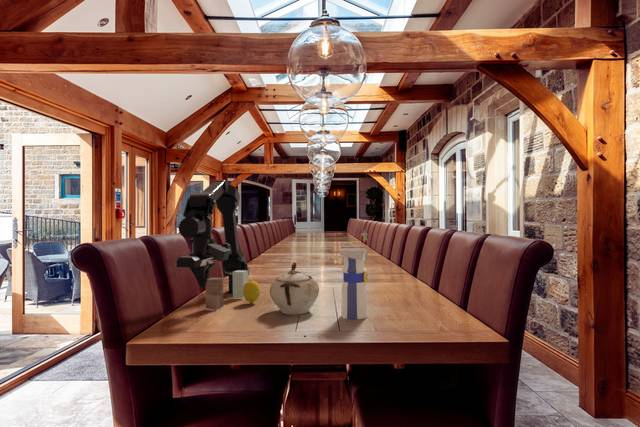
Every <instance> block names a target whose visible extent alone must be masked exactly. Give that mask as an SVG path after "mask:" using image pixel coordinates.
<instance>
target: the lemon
mask: <svg viewBox="0 0 640 427" xmlns="http://www.w3.org/2000/svg"><path fill="white" fill-rule="evenodd" d="M260 294H261V290H260V285H259V283H258V282H257V281H255V280H253V279H249V280H248V282H246V283H245V285H244V287H243V296H244V298H245V299H244V300H245V301H247V302H249V303H250V304H254V303H255V302H256V301H257V300H258V299H259V297H260Z"/></svg>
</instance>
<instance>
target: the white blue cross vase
mask: <svg viewBox="0 0 640 427" xmlns="http://www.w3.org/2000/svg"><path fill="white" fill-rule="evenodd" d="M368 235H369V233H367V232H366V230H365V229H363V233H361V236H362V237H363V240H362V242H366V241H368V237H367V236H368ZM339 256H342V257H343V267H342V268H341V271H342V275H343V277H342V283H341V284H342V285H341V316H340V317H341V319H342V318H343V319H346V320H363V319H367V318H368V317H369V313H368V298H367V297H368V291H367V288H368V287H367V282H368V271H367V268H366V267H365V260H367V258H368V256H369V254H368V250H367V248H362V247H360V248H358V247H346V248H344V247H343V248H341V249H340V252H339Z"/></svg>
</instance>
